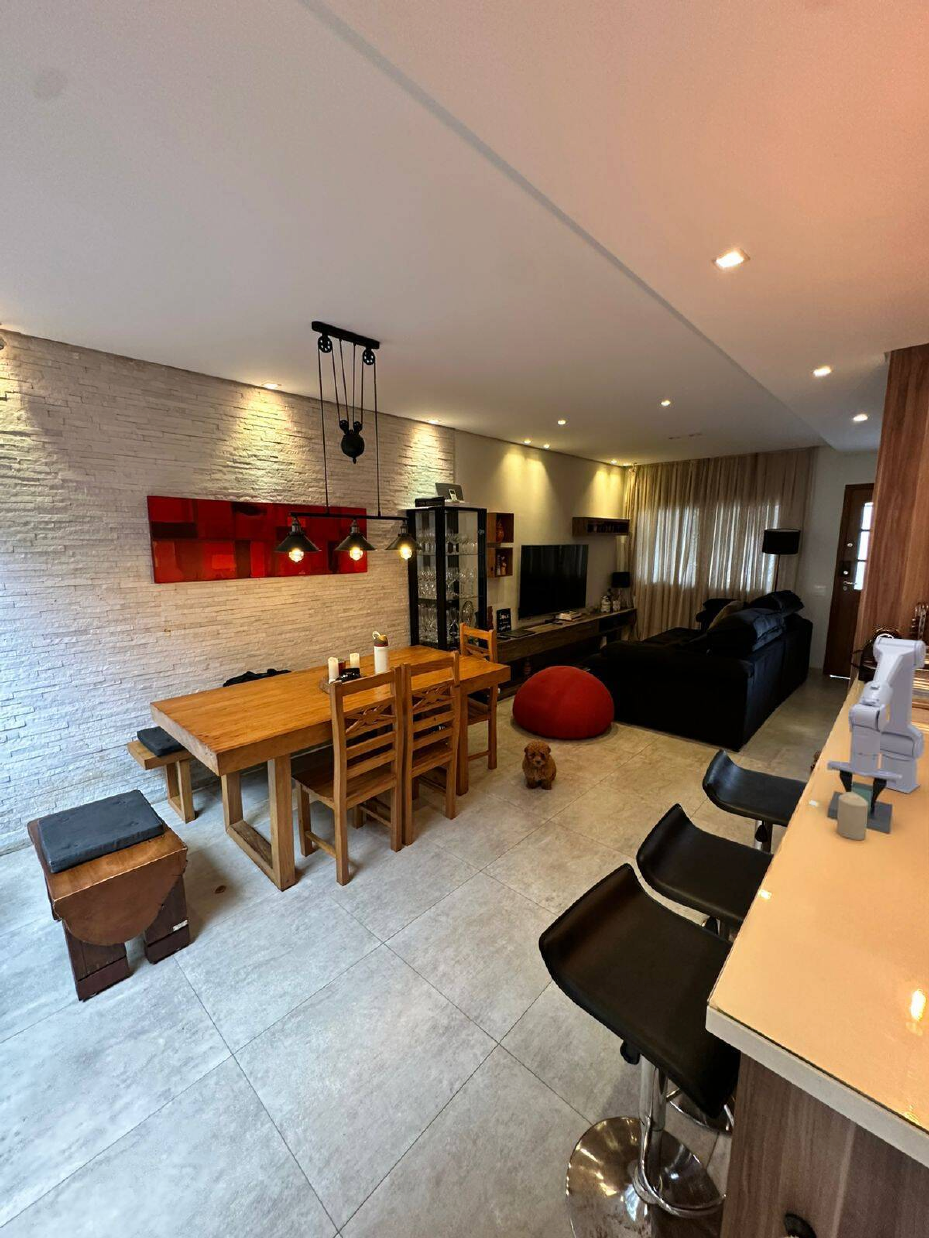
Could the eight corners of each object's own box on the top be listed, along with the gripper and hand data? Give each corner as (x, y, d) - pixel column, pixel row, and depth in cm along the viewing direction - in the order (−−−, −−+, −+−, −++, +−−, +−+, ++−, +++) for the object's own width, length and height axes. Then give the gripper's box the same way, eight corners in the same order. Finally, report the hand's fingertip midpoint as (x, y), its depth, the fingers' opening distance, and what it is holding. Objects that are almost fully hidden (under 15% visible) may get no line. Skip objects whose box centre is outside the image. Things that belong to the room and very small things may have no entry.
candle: (870, 841, 116) (873, 800, 115) (844, 839, 117) (846, 799, 116) (857, 828, 122) (860, 789, 120) (831, 826, 123) (834, 788, 122)
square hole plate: (833, 799, 136) (834, 790, 136) (891, 813, 128) (892, 804, 128) (827, 817, 127) (828, 807, 127) (889, 833, 119) (890, 823, 119)
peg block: (851, 803, 130) (853, 781, 130) (871, 807, 128) (872, 785, 127) (849, 809, 127) (851, 786, 127) (869, 814, 125) (871, 791, 124)
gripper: (827, 749, 127) (823, 800, 129) (902, 764, 118) (897, 818, 119) (830, 741, 133) (827, 790, 134) (903, 755, 123) (898, 807, 125)
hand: (860, 802), depth 127 cm, fingers closed on peg block, 4 cm apart
